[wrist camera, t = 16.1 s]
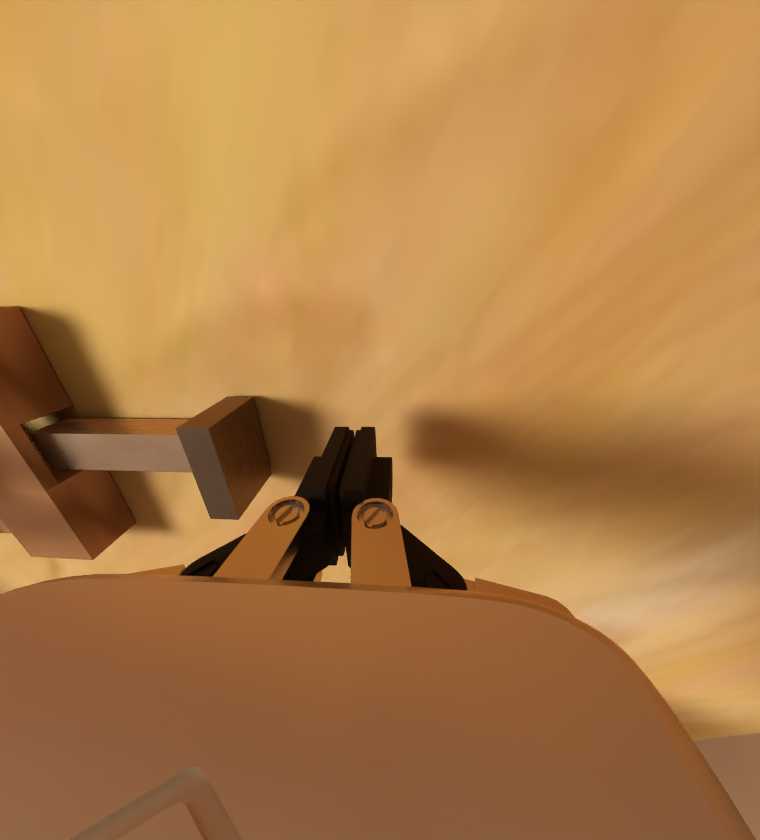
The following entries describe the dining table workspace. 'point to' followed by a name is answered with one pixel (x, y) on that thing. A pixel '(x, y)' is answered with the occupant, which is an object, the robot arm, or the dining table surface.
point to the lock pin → (172, 450)
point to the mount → (32, 475)
